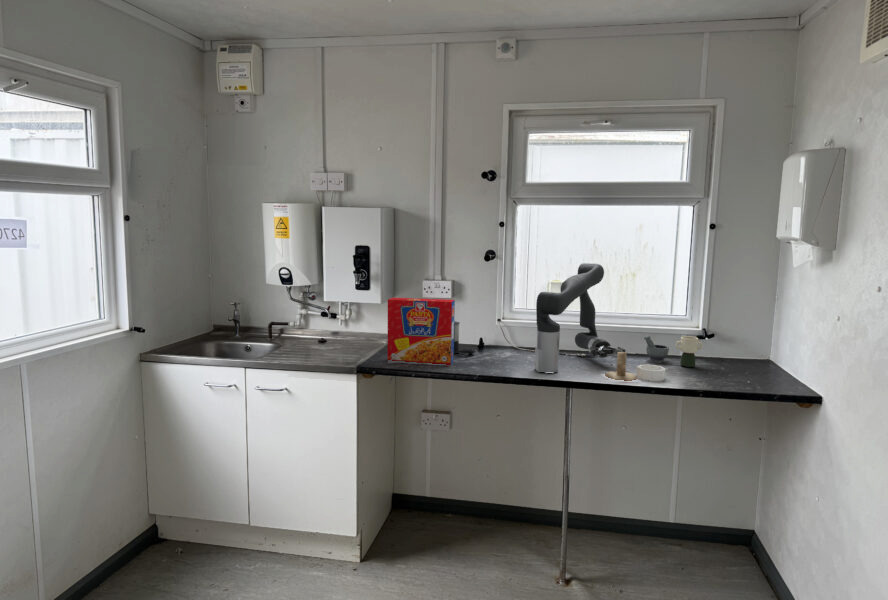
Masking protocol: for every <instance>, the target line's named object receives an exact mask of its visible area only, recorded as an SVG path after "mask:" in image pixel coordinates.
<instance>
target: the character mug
mask: <svg viewBox="0 0 888 600" xmlns="http://www.w3.org/2000/svg"><path fill="white" fill-rule="evenodd" d="M679 344H680V345H679ZM675 348H676V349H680V352H682V353H681V357H680V362H679V364H680V366H683V367H687V368H694V367H696V355H695V354H696V353H698V350H702V349H703V342H702V341H699V338H698V337H697V336H692V335H691V336H690V335H683V336H681V337H680V340H677V341H676V342H675Z"/></svg>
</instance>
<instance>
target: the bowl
mask: <svg viewBox="0 0 888 600" xmlns="http://www.w3.org/2000/svg"><path fill="white" fill-rule="evenodd" d="M636 376H637V378H638V379H639V380H643V381H648V380H649V381H650V382H663V381H664V380H665V379H666V368H665V367H663V366H661V365H655V364H639V365H637V366H636Z"/></svg>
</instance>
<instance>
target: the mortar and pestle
mask: <svg viewBox="0 0 888 600" xmlns="http://www.w3.org/2000/svg"><path fill="white" fill-rule="evenodd" d="M643 339H644V340H645V342H646V354H647V356H648V357H649V358H650V359H649V362H650V361H651V363H654V362H656V363H655V364H662V363H661V362H665V360H664V359H666V358H667V356H668V355H669V351H670V347H669V346H667V345H662V344H654V341H653V340H652V338H651V336H650V335H649V334H647V335H645V336H644V337H643Z"/></svg>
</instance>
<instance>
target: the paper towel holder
mask: <svg viewBox="0 0 888 600" xmlns="http://www.w3.org/2000/svg"><path fill="white" fill-rule="evenodd" d="M617 354H618V355H617V356H616V357H617V358H616V371H607V372H605V373H606V374H605V376H606V377H608V378H611V379H615V380H624V381H632V380H636V379H637V378H638V377H637V374H636V375H635V374H634V373H631V372H626V371H627V370H626V369H627V352H626V351H625V352H618V353H617Z"/></svg>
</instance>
